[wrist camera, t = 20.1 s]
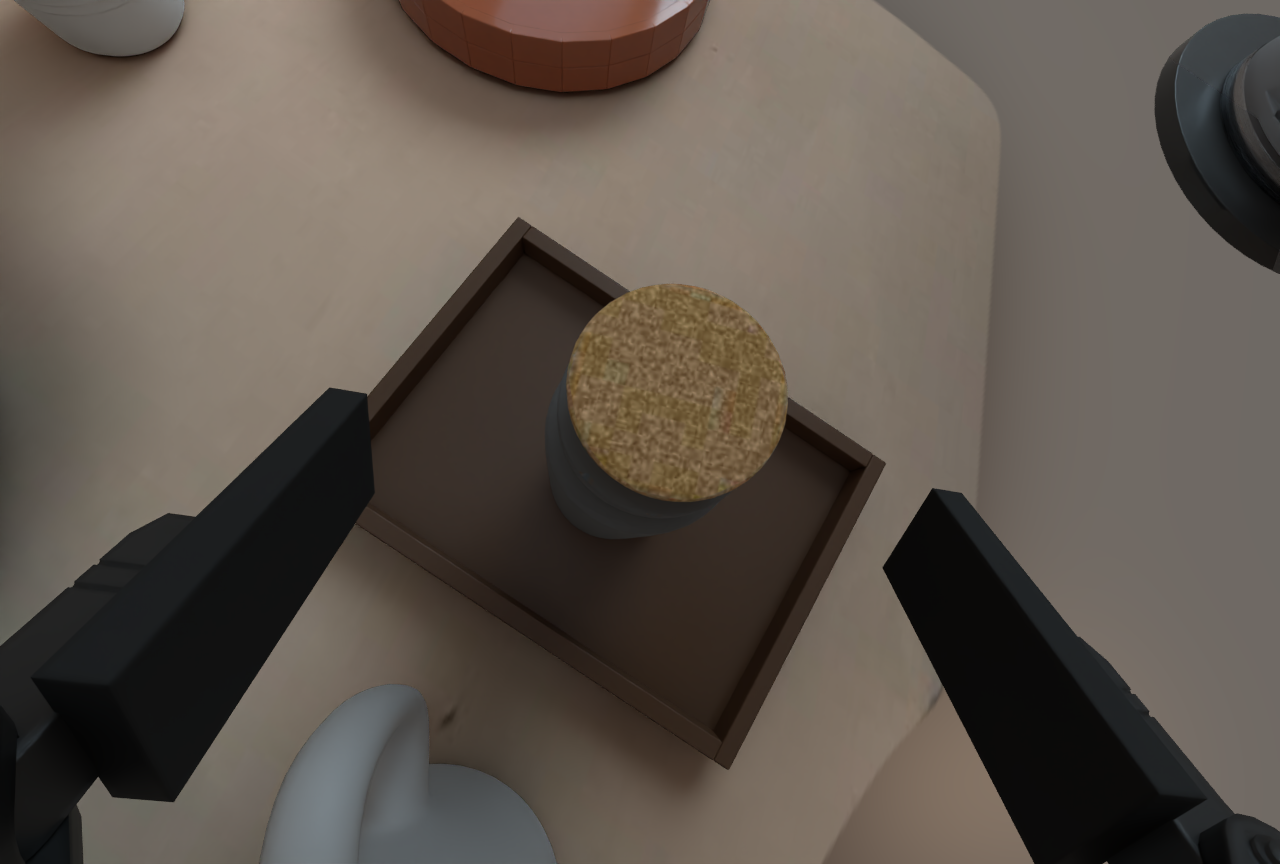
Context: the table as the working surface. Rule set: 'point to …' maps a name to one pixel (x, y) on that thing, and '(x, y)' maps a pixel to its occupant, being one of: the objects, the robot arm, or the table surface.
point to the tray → (573, 560)
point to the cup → (109, 23)
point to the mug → (394, 796)
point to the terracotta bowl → (561, 37)
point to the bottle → (662, 412)
